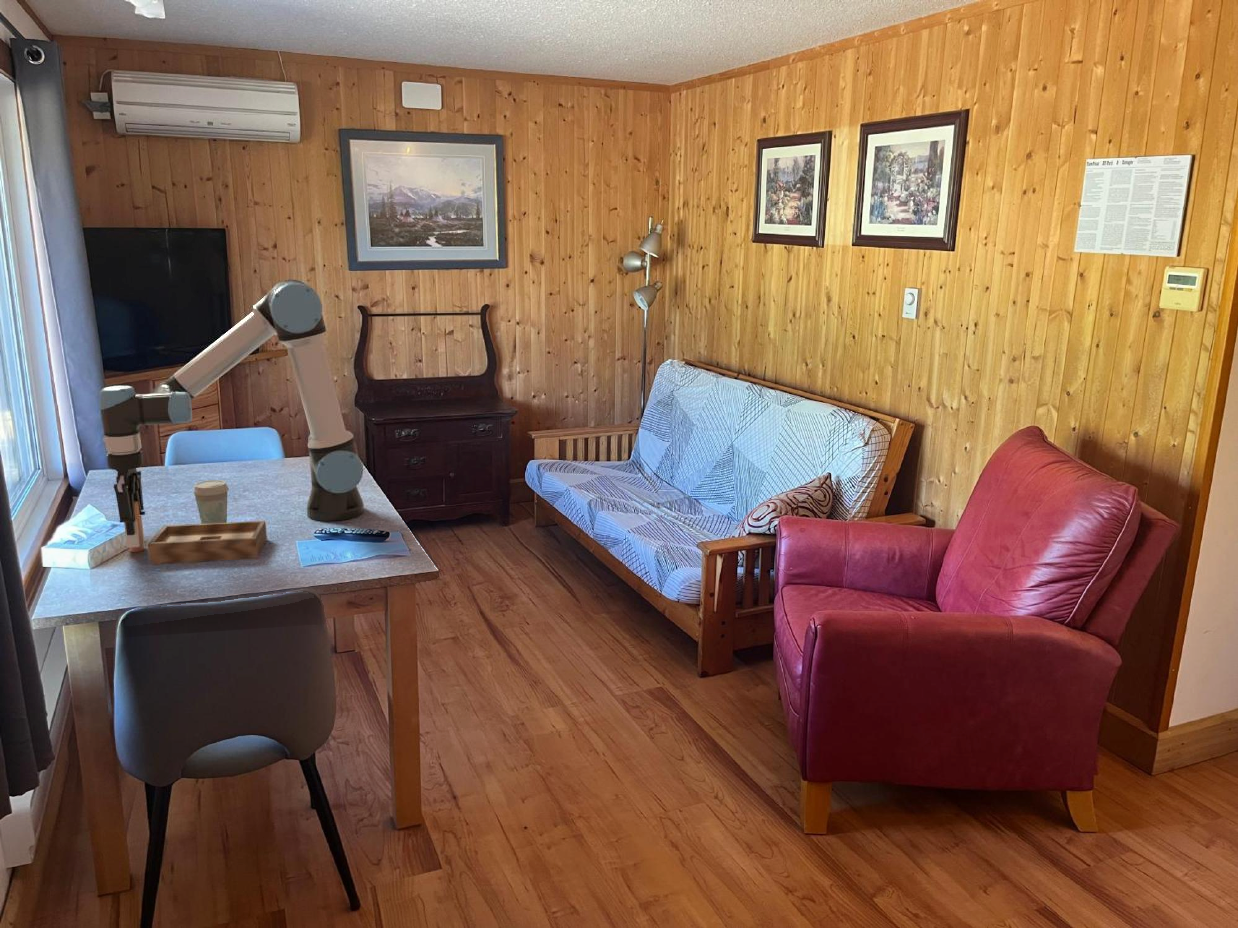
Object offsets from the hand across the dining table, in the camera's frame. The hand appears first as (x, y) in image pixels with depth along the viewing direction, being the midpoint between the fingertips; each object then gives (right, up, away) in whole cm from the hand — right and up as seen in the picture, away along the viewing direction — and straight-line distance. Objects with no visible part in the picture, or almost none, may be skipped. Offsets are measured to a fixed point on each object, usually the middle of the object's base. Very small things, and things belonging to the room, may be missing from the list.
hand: (135, 543), depth 233 cm
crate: (+18, -2, 0) cm, 19 cm away
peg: (0, -2, 0) cm, 2 cm away
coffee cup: (+12, +3, +17) cm, 21 cm away
